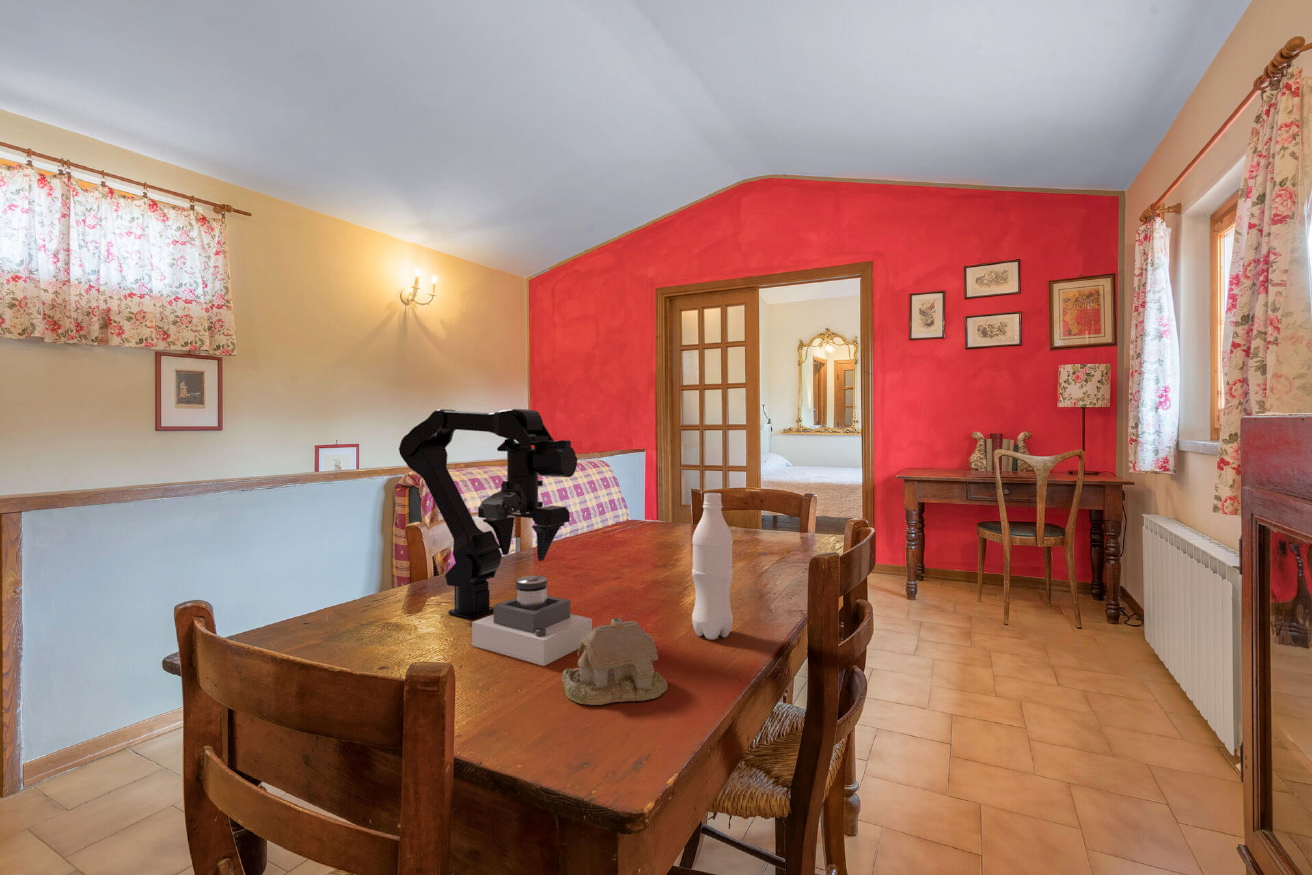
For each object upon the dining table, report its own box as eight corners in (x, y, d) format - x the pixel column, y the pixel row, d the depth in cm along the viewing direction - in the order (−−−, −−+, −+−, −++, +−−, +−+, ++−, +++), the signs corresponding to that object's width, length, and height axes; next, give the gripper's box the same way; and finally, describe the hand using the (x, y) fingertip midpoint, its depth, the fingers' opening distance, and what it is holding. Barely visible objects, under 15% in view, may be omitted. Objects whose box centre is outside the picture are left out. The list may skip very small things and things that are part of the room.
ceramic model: (643, 666, 91) (643, 601, 91) (678, 695, 81) (678, 623, 81) (555, 683, 85) (555, 614, 84) (581, 718, 75) (581, 640, 74)
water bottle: (706, 644, 99) (706, 497, 99) (684, 631, 106) (684, 492, 105) (740, 637, 103) (741, 494, 102) (718, 625, 109) (718, 490, 109)
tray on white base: (472, 645, 99) (472, 604, 99) (523, 625, 109) (523, 587, 109) (543, 666, 90) (543, 620, 90) (591, 641, 101) (591, 601, 101)
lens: (509, 621, 99) (509, 580, 99) (531, 613, 103) (531, 573, 103) (532, 627, 96) (532, 584, 96) (554, 618, 100) (553, 577, 100)
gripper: (454, 476, 109) (455, 559, 110) (528, 481, 99) (528, 573, 100) (500, 472, 119) (500, 549, 119) (571, 476, 109) (571, 560, 109)
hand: (522, 557), depth 111 cm, fingers open, 9 cm apart
